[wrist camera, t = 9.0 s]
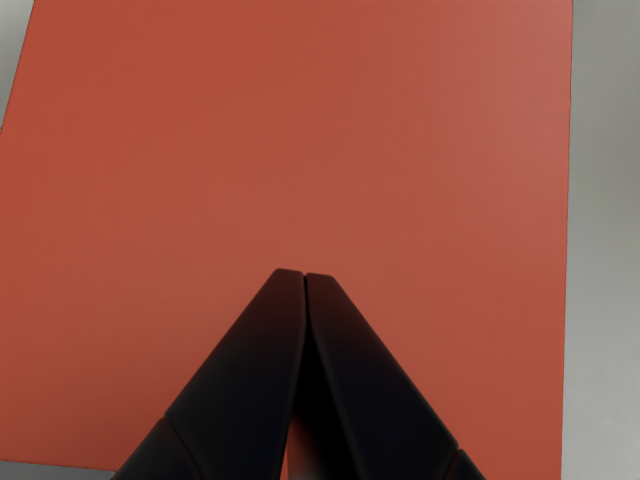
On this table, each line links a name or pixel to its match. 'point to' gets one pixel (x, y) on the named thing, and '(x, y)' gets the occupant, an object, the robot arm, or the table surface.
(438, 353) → the lid
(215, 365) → the robot arm
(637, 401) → the table surface
